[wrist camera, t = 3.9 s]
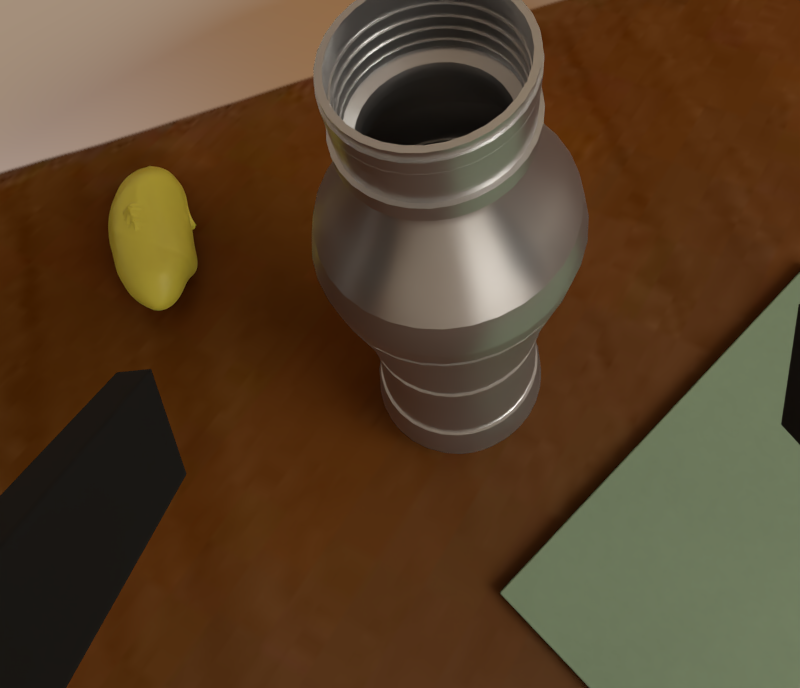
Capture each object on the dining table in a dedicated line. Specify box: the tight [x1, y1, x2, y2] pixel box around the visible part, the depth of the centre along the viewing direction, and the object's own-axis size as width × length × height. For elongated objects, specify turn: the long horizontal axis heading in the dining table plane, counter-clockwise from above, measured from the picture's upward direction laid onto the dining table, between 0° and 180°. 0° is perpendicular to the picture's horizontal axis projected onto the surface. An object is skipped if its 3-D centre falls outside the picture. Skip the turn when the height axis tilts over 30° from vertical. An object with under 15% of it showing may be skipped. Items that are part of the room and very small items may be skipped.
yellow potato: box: [108, 166, 198, 311], centre depth 31 cm, size 4×8×4 cm, turn 8°
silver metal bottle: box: [312, 0, 589, 454], centre depth 19 cm, size 6×7×20 cm
